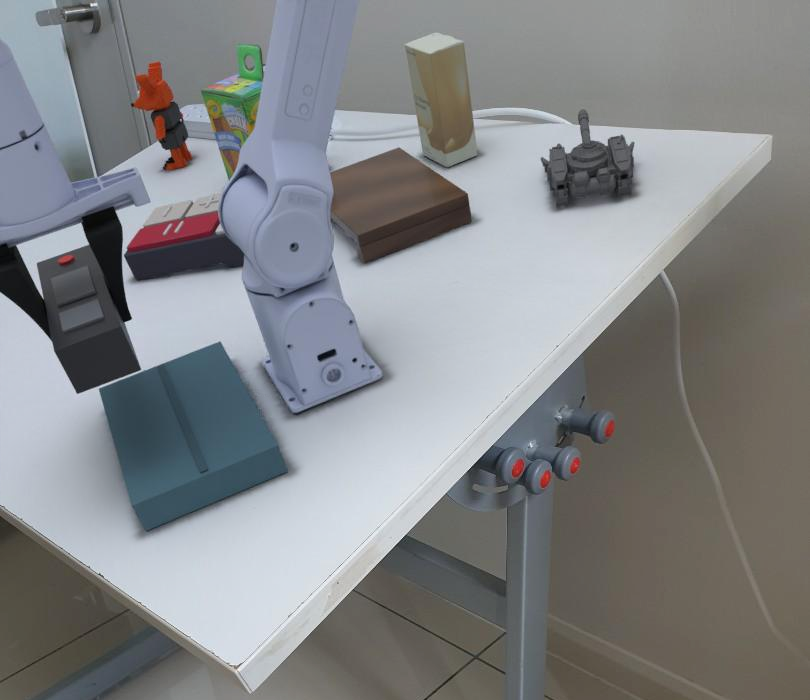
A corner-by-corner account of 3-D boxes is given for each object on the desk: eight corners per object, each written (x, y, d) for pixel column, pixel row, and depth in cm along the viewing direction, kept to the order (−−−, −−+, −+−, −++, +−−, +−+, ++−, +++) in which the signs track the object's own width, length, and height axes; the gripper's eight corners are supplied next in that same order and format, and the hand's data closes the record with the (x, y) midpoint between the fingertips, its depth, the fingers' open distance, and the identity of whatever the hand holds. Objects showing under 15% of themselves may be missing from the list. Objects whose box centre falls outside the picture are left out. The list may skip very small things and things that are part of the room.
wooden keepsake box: (472, 222, 88) (468, 193, 86) (364, 264, 86) (357, 235, 84) (404, 173, 101) (399, 146, 99) (309, 208, 99) (301, 182, 97)
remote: (141, 370, 59) (119, 323, 56) (77, 394, 58) (52, 348, 56) (110, 282, 70) (91, 240, 68) (56, 302, 70) (35, 260, 67)
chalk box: (229, 188, 109) (186, 59, 99) (287, 158, 112) (250, 31, 102) (271, 200, 103) (229, 65, 93) (330, 169, 106) (296, 35, 96)
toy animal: (165, 155, 123) (131, 64, 115) (201, 150, 122) (168, 57, 114) (145, 179, 118) (107, 84, 109) (182, 173, 116) (146, 77, 108)
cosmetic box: (421, 155, 104) (401, 43, 95) (453, 143, 105) (435, 30, 96) (448, 169, 99) (428, 52, 91) (480, 155, 100) (464, 38, 92)
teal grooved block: (288, 471, 64) (277, 443, 62) (146, 531, 62) (130, 504, 60) (229, 365, 77) (219, 339, 75) (110, 412, 75) (97, 386, 73)
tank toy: (541, 166, 94) (536, 116, 91) (631, 151, 93) (630, 99, 89) (545, 214, 86) (540, 161, 82) (644, 198, 84) (643, 144, 81)
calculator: (152, 204, 99) (273, 177, 95) (168, 239, 102) (286, 215, 98) (118, 249, 92) (249, 222, 88) (137, 286, 94) (264, 261, 91)
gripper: (102, 88, 59) (176, 274, 68) (-113, 158, 56) (-6, 339, 66) (117, 112, 54) (195, 309, 63) (-119, 189, 51) (-3, 382, 61)
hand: (93, 327), depth 64 cm, fingers closed on remote, 4 cm apart
